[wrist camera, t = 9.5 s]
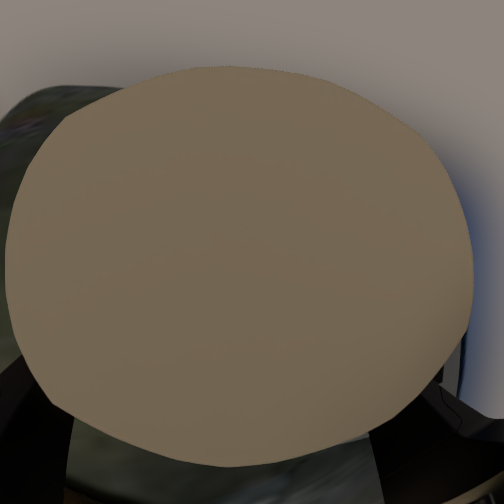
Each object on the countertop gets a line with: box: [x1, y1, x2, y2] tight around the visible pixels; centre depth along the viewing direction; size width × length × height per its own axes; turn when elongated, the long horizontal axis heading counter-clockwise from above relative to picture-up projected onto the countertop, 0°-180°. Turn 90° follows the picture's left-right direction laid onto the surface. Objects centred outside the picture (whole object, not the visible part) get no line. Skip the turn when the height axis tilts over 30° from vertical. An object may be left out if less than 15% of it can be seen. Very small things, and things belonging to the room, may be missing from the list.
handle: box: [5, 66, 474, 467], centre depth 10 cm, size 5×6×15 cm
